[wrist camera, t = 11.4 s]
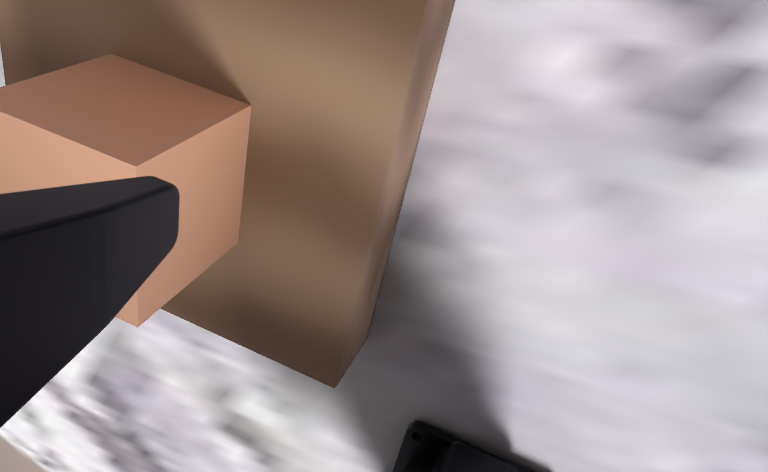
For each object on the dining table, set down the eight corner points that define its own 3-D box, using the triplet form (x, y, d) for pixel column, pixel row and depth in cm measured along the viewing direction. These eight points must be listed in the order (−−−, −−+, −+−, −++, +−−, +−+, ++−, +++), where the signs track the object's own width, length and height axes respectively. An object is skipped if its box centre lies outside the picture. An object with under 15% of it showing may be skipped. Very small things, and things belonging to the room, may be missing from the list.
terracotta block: (238, 242, 21) (137, 327, 17) (115, 191, 22) (-7, 259, 18) (251, 105, 19) (135, 166, 14) (111, 53, 20) (-34, 97, 15)
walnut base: (366, 339, 25) (334, 388, 23) (81, 215, 28) (26, 247, 26) (460, -23, 18) (429, -9, 15) (58, -144, 20) (-24, -147, 18)
